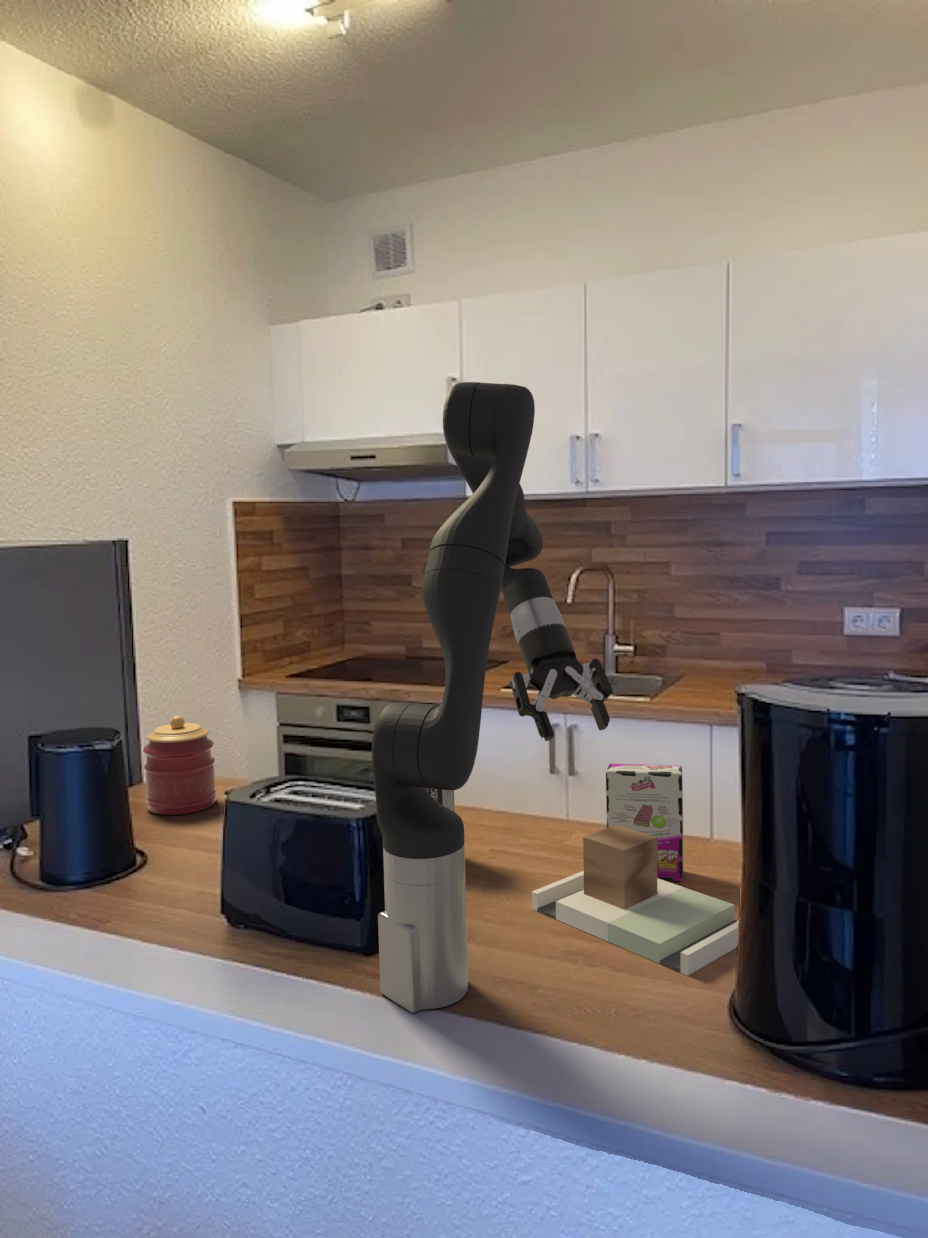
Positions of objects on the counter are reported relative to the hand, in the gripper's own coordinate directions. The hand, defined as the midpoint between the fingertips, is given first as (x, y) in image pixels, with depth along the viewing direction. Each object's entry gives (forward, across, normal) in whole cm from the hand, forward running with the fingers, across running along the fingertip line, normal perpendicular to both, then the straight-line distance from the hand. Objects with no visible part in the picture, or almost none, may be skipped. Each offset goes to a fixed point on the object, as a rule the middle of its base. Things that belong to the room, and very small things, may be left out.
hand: (577, 733), depth 129 cm
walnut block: (+22, 0, +5) cm, 22 cm away
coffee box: (+6, -19, +29) cm, 35 cm away
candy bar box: (+19, +10, +15) cm, 26 cm away
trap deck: (+26, +1, +3) cm, 26 cm away
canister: (-23, -54, +64) cm, 87 cm away
